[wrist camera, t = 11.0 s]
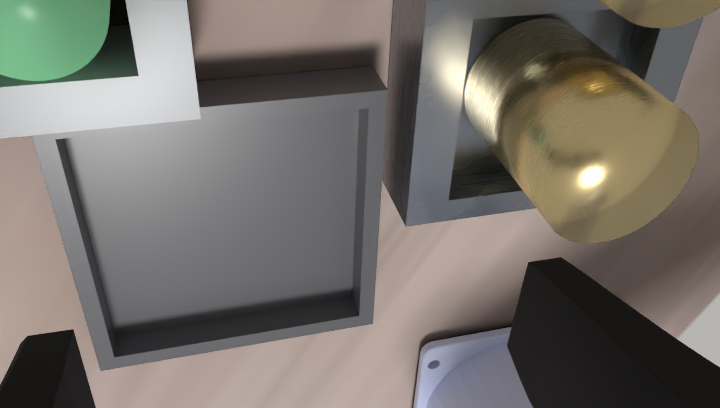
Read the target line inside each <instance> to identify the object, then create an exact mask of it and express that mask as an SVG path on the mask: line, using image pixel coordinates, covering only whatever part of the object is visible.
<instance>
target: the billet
mask: <svg viewBox="0 0 720 408" xmlns="http://www.w3.org/2000/svg"><path fill="white" fill-rule="evenodd" d="M599 1H600V2H602V3H603V4H604V5H606V6H607V7H609V8H610V9H612V10H613V11H615V12H616V13H617V14H619V15H620V16H622V17H623V18H625V19H626V20H628V21H630V22H632V23H634V24H637V25H640V26H644V27H650V28H668V27H675V26H679V25H683V24H687V23H689V22H692V21H694V20H697V19H700V18H701V17H703V16H705V15H707V14H709V13H711V12H713V11H714V10H716V9H717V8H719V7H720V0H599Z"/></svg>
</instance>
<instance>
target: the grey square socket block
mask: <svg viewBox="0 0 720 408" xmlns="http://www.w3.org/2000/svg"><path fill="white" fill-rule="evenodd" d="M126 6H127V12H128V18H129V23H130V24H129V25H113V26H108V32H107V35H106V38H105V41H104V43H103V45H102V47H101V49H100V50H99V52H98V53H97V54H96V56H95V57H94V58H93V59H92V60H91V61H90V62H89V63H88V64H87V65H85V66H84V67H83V68H81V69H80V70H78V71H76V72H74V73H72V74H70V75H67V76H65V77H61V78H58V79H53V80H46V81H28V80H20V79H15V78H10V77H7V76H4V75H1V74H0V139H1V138H11V137H22V136H32V135H42V134H52V133H63V132H73V131H83V130H94V129H104V128H114V127H125V126H135V125H145V124H156V123H166V122H176V121H186V120H197V119H201V116H200V108H199V99H198V91H197V83H196V74H195V66H194V58H193V50H192V41H191V33H190V25H189V16H188V8H187V0H126Z"/></svg>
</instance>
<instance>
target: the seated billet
mask: <svg viewBox="0 0 720 408" xmlns="http://www.w3.org/2000/svg"><path fill="white" fill-rule="evenodd" d="M464 103H465V109H466V114H467V116H468V119H469V121H470V122H471V124H472V126H473V127H474V128H475V129H476V131H477V132H478V133H479V135H480V136H481V137H482V138H483V140H484V141H485V142H486V144H487V145H488V146H489V147H490V149H491V150H492V151H493V153H494V154H495V155H496V156H497V158H498V159H499V160H500V162H501V163H502V164H503V165H504V167H505V168H506V169H507V171H508V172H509V173H510V174H511V176H512V177H513V178H514V180H515V181H516V182H517V183H518V185H519V186H520V187H521V189H522V190H523V191H524V192H525V194H526V195H527V196H528V198H529V199H530V200H531V201H532V203H533V204H534V205H535V207H536V208H537V209H538V210H539V212H540V213H541V214H542V216H543V217H544V218H545V219H546V221H547V222H548V223H549V225H550V226H551V227H552V228H553V229H554V231H555V232H556V233H558V234H559V235H560V236H562V237H564V238H566V239H568V240H570V241H574V242H578V243H602V242H607V241H611V240H614V239H617V238H621V237H623V236H625V235H628V234H630V233H632V232H634V231H636V230H638V229H640V228H641V227H643V226H644V225H646V224H648V223H649V222H650V221H652V220H653V219H654V218H656V217H657V216H658V215H659V214H660V213H662V212H663V211H664V210H665V209H666V208H667V207H668V206H669V205H670V204H671V203H672V202H673V201H674V199H675V198H676V197H677V196H678V195H679V193H680V192H681V191H682V189H683V188H684V186H685V185H686V183H687V181H688V179H689V178H690V176H691V173H692V171H693V169H694V166H695V163H696V160H697V155H698V150H699V139H698V132H697V129H696V126H695V124H694V123H693V121H692V119H691V118H690V117H689V116H688V115H687V114H686V113H685V112H684V111H683V110H681V109H680V108H679V107H677V106H676V105H675V104H673V103H672V102H671V101H669V100H668V99H667V98H666V97H664V96H663V95H662V94H660V93H659V92H658V91H656V90H655V89H654V88H653V87H651V86H650V85H649V84H647V83H646V82H645V81H643V80H642V79H641V78H639V77H638V76H637V75H636V74H634V73H633V72H632V71H630V70H629V69H628V68H626V67H625V66H624V65H622V64H621V63H620V62H619V61H617V60H616V59H615V58H613V57H612V56H611V55H609V54H608V53H607V52H606V51H604V50H603V49H602V48H600V47H599V46H598V45H596V44H595V43H594V42H592V41H591V40H590V39H589V38H587V37H586V36H585V35H583V34H582V33H581V32H579V31H578V30H577V29H575V28H574V27H573V26H571V25H570V24H568V23H566V22H563V21H560V20H557V19H550V18H541V19H534V20H529V21H526V22H522V23H520V24H518V25H515V26H513V27H511V28H509V29H508V30H506V31H504V32H503V33H502V34H500V35H499V36H497V37H496V38H495V39H494V40H493V41H492V42H490V44H489V45H488V46H487V47H486V48H485V49H484V50H483V51H482V53H481V54H480V55H479V57H478V58H477V60H476V61H475V63H474V65H473V66H472V69H471V71H470V73H469V76H468V79H467V82H466V86H465V93H464Z"/></svg>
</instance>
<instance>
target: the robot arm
mask: <svg viewBox="0 0 720 408" xmlns="http://www.w3.org/2000/svg"><path fill="white" fill-rule="evenodd" d="M0 408H96V407H95V404H94V400H93V397H92V393H91V390H90V386H89V383H88V379H87V376H86V372H85V369H84V365H83V362H82V358H81V355H80V351H79V348H78V344H77V341H76V337H75V334H74V330H73V329H72V330H65V331H59V332H52V333H45V334H38V335H32V336H27V337H26V338H25V339H24V340H23V341H22V342H21V344H20V346H19V348H18V350H17V352H16V354H15V356H14V359H13V361H12V363H11V365H10V367H9V369H8V371H7V373H6V375H5V377H4V379H3V381H2V383H1V385H0ZM413 408H720V367H718V366H717V365H715V364H714V363H712V362H710V361H709V360H707V359H706V358H704V357H703V356H701V355H700V354H698V353H697V352H695V351H694V350H692V349H691V348H689V347H688V346H686V345H685V344H683V343H682V342H680V341H679V340H677V339H676V338H674V337H673V336H671V335H670V334H669V333H667V332H666V331H664V330H663V329H661V328H660V327H659V326H657V325H656V324H654V323H653V322H651V321H650V320H649V319H647V318H646V317H644V316H643V315H642V314H640V313H639V312H637V311H636V310H635V309H633V308H632V307H630V306H629V305H628V304H626V303H625V302H623V301H622V300H621V299H619V298H618V297H616V296H615V295H614V294H612V293H611V292H610V291H608V290H607V289H605V288H604V287H603V286H601V285H600V284H598V283H597V282H596V281H594V280H593V279H592V278H590V277H589V276H587V275H586V274H584V273H583V272H582V271H580V270H579V269H577V268H576V267H574V266H573V265H572V264H570V263H569V262H567V261H566V260H564V259H563V258H561V257H560V258H554V259H547V260H540V261H533V262H528V266H527V269H526V273H525V277H524V281H523V285H522V289H521V293H520V297H519V300H518V304H517V308H516V312H515V316H514V320H513V324H512V327H508V328H502V329H497V330H492V331H486V332H481V333H475V334H470V335H464V336H459V337H453V338H448V339H442V340H437V341H432V342H429V343H427V344H426V345H424V347H423V348H422V349H421V352H420V359H419V367H418V375H417V383H416V391H415V398H414V406H413Z"/></svg>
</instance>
